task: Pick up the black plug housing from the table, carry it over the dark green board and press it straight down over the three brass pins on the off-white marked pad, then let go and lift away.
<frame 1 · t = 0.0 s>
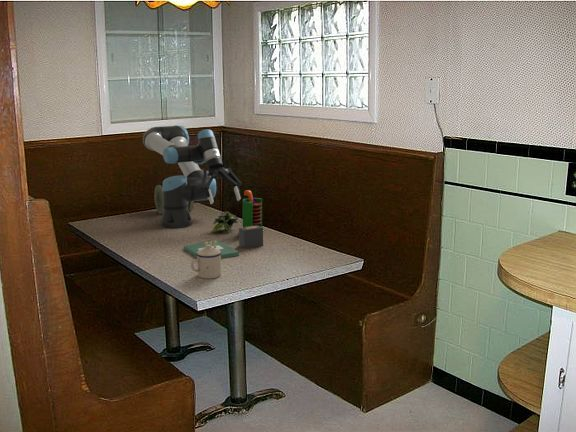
hand: (225, 201, 292), 15 cm above the table, tool tilted 35°, fingers open, 13 cm apart
plug housing: (251, 245, 277), on the table
header board: (210, 252, 267), on the table
teacup with lid: (206, 276, 238), on the table
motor: (252, 233, 297), on the table
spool: (174, 212, 339), on the table
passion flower: (226, 232, 300), on the table
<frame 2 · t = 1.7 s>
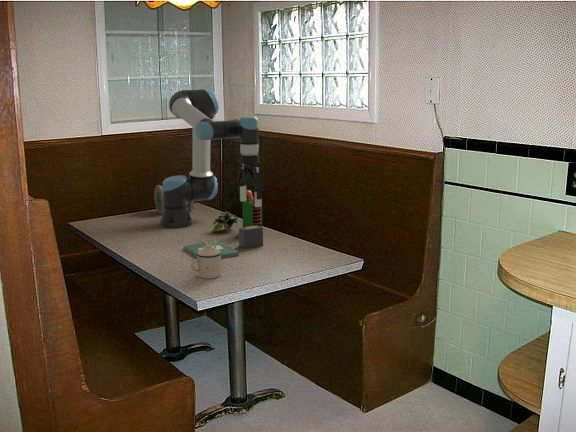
hand: (250, 203, 272), 18 cm above the table, tool pointing down, fingers open, 13 cm apart
nothing on the table moved.
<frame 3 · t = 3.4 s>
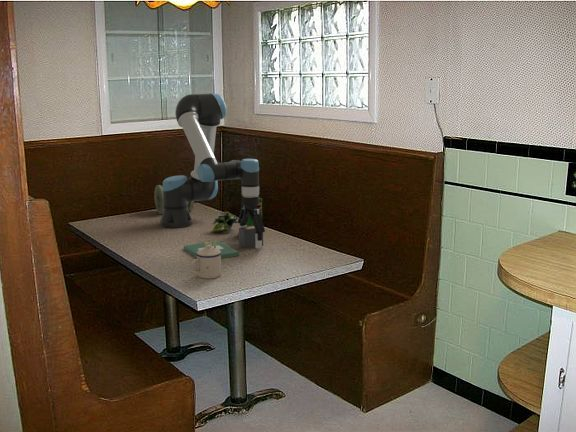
hand: (251, 243, 276), 1 cm above the table, tool pointing down, fingers open, 13 cm apart
nothing on the table moved.
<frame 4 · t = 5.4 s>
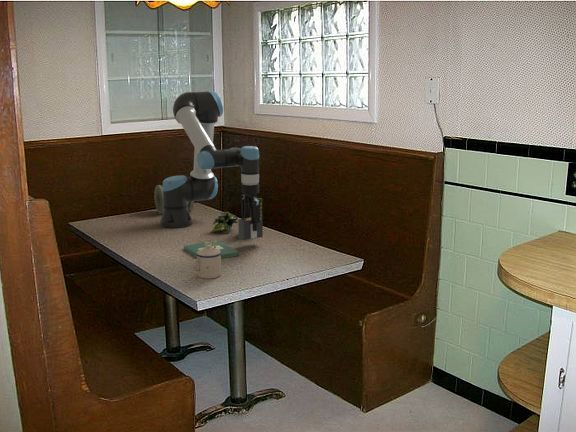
hand: (250, 236, 276), 4 cm above the table, tool pointing down, fingers closed on plug housing, 5 cm apart
plug housing: (250, 236, 276), point 4 cm above the table, touching gripper
everything else where it was.
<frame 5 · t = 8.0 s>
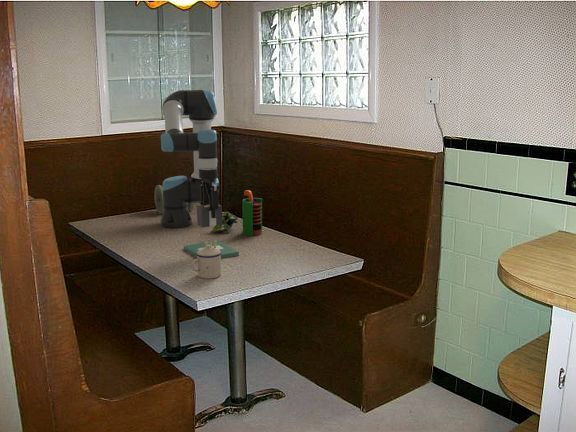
hand: (210, 224, 264), 12 cm above the table, tool pointing down, fingers closed on plug housing, 5 cm apart
plug housing: (209, 224, 264), point 12 cm above the table, touching gripper
everything else where it was.
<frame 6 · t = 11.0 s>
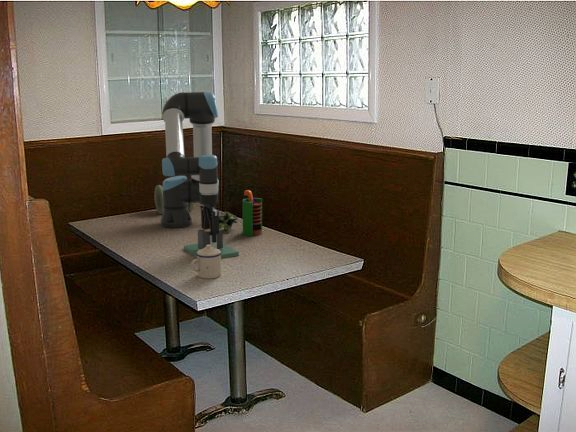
hand: (210, 247, 267), 2 cm above the table, tool pointing down, fingers closed on plug housing, 5 cm apart
plug housing: (210, 248, 267), point 2 cm above the table, touching gripper, header board
everything else where it was.
when the fingers open (2 cm above the table, at t = 11.0 s): plug housing stays where it is, resting on header board.
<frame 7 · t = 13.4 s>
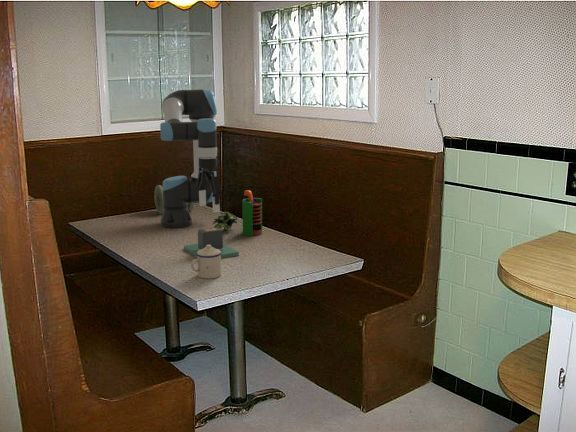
hand: (209, 208, 263), 19 cm above the table, tool pointing down, fingers open, 13 cm apart
plug housing: (210, 248, 267), point 2 cm above the table, touching header board
everything else where it was.
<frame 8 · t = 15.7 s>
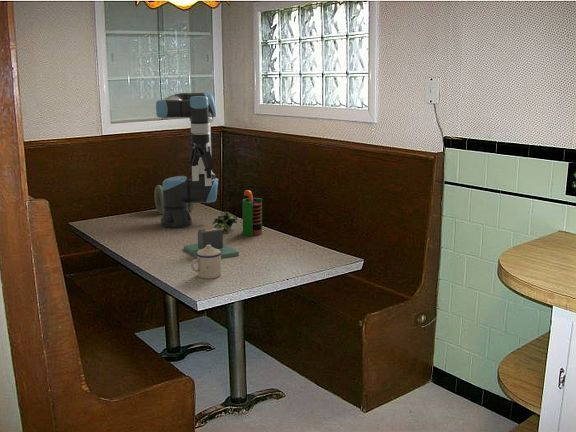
hand: (201, 183, 274), 27 cm above the table, tool pointing down, fingers open, 13 cm apart
nothing on the table moved.
at the end: plug housing 0.0 cm off-centre on the header board, point 1.6 cm above the header board's base; plug housing tilted 0°; the gripper is holding nothing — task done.
